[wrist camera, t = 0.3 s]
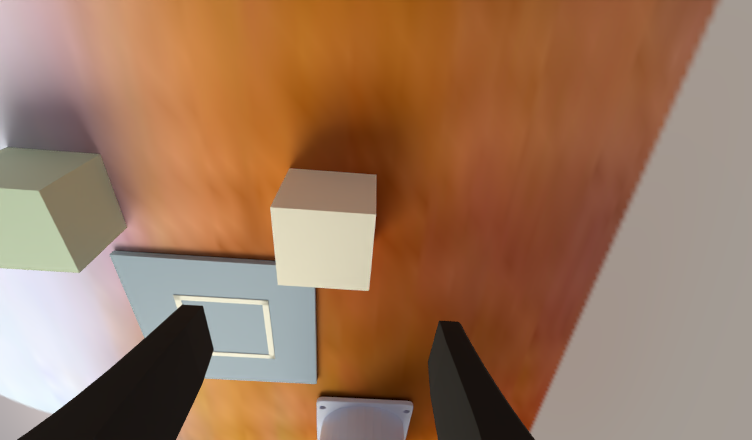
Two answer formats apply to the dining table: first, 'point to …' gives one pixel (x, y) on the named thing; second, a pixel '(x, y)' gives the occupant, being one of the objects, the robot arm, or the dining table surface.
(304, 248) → the cream block
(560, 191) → the dining table surface
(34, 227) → the sage block
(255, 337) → the plate
